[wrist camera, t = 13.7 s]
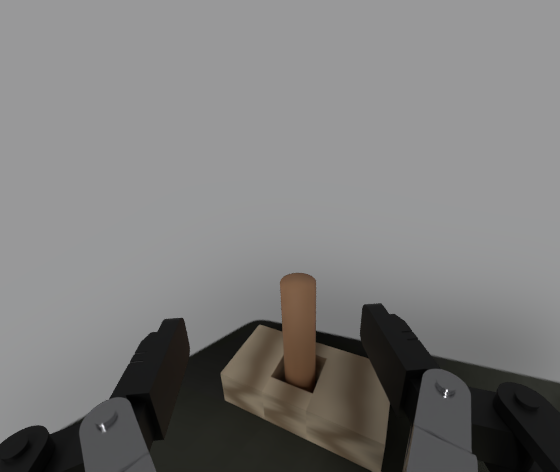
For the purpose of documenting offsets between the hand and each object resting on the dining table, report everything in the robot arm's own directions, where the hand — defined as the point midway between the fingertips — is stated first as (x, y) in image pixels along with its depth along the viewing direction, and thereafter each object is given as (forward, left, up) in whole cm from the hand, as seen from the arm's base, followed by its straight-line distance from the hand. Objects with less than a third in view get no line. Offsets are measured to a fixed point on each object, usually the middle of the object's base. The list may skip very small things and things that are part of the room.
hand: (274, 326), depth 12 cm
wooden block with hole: (-5, +15, -26) cm, 30 cm away
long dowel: (-5, +15, -26) cm, 30 cm away
